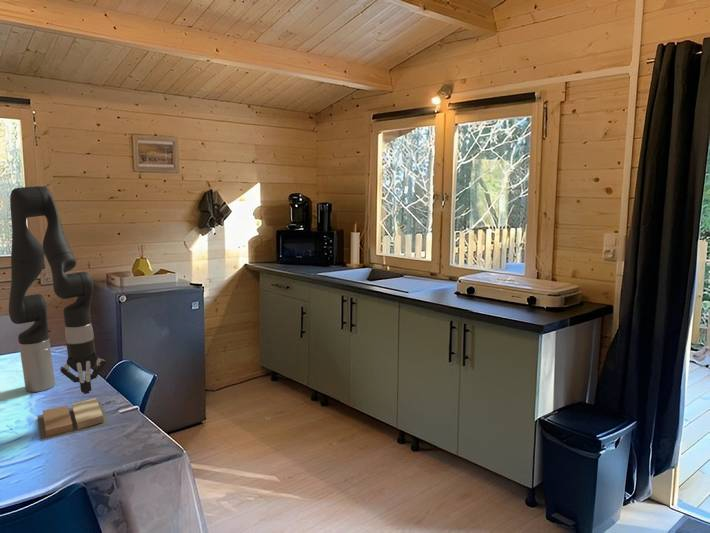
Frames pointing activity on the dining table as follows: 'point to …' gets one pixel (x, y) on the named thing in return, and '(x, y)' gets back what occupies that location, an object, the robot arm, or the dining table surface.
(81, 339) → the robot arm
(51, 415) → the floor section
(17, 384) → the dining table surface
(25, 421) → the dining table surface
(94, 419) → the oak plank
